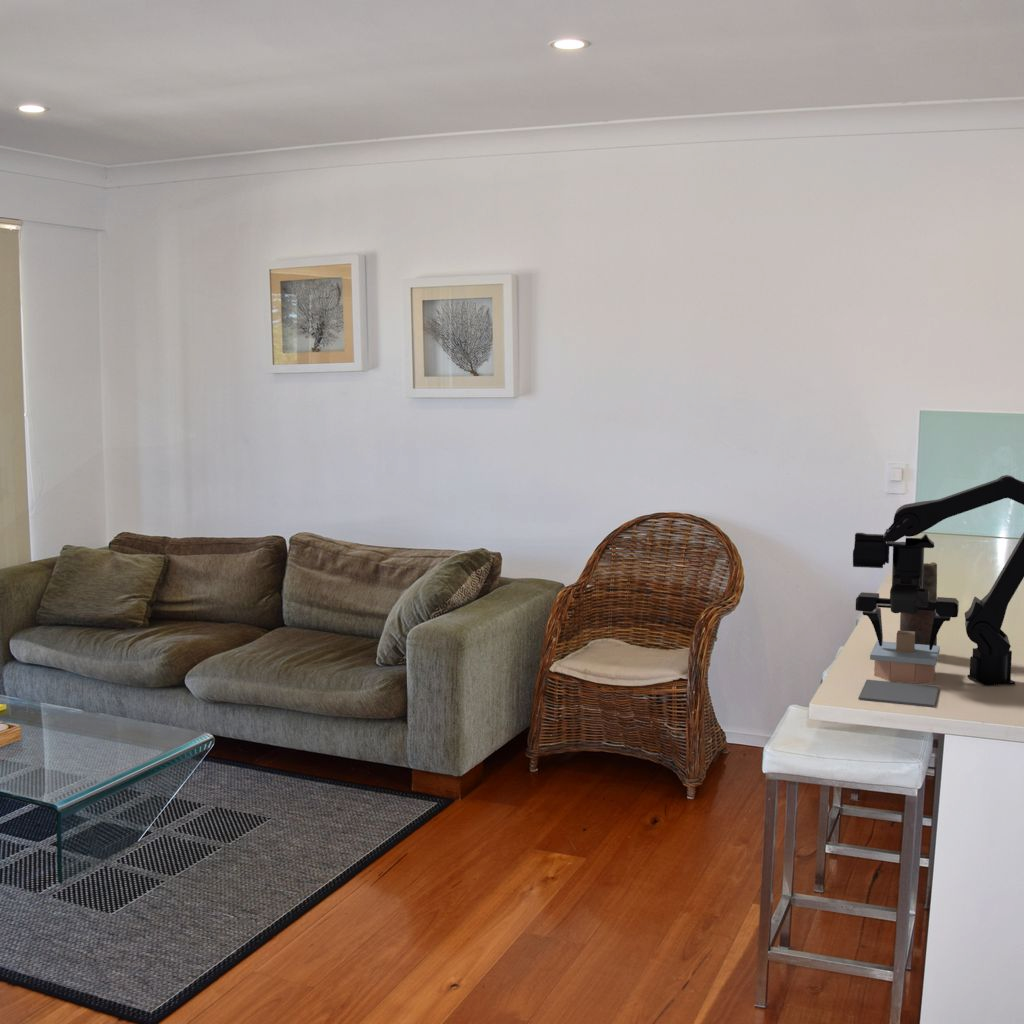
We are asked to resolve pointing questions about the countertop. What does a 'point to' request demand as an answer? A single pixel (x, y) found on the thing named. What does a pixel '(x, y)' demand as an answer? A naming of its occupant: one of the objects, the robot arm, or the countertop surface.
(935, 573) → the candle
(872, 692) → the mat
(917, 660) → the lid
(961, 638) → the countertop surface
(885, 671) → the dish
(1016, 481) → the robot arm
